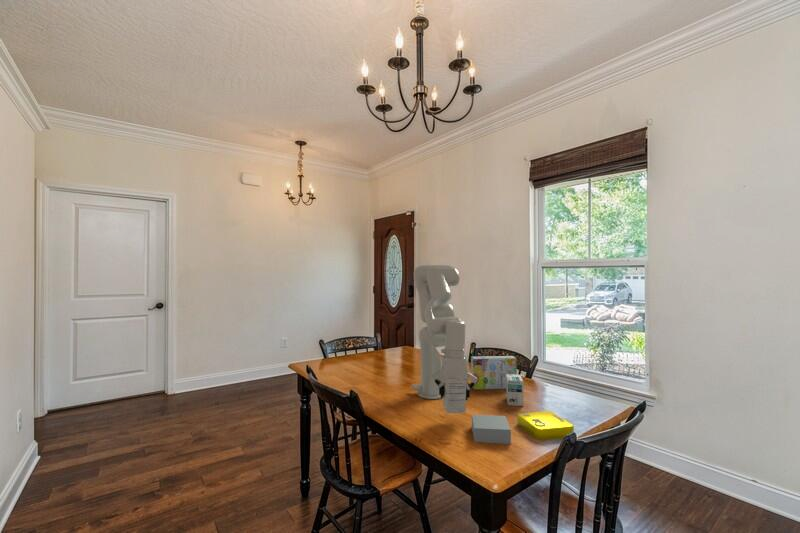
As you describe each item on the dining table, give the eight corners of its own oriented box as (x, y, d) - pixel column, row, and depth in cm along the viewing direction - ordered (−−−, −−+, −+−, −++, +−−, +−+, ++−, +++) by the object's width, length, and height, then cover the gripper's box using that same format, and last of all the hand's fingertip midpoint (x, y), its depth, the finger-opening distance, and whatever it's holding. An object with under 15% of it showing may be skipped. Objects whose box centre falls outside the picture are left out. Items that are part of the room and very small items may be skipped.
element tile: (576, 438, 134) (576, 424, 134) (537, 442, 131) (537, 428, 131) (550, 421, 148) (550, 409, 148) (515, 424, 145) (515, 412, 145)
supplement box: (442, 405, 150) (443, 373, 149) (461, 405, 150) (461, 373, 150) (446, 413, 142) (446, 380, 142) (466, 413, 143) (466, 379, 143)
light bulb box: (524, 406, 163) (524, 381, 163) (507, 405, 164) (507, 380, 164) (521, 398, 173) (521, 374, 173) (505, 397, 175) (505, 373, 175)
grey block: (474, 442, 130) (474, 428, 130) (471, 428, 142) (471, 414, 142) (510, 444, 129) (510, 429, 129) (505, 429, 141) (505, 416, 141)
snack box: (513, 385, 192) (513, 355, 192) (516, 389, 186) (516, 358, 186) (470, 386, 191) (470, 355, 191) (473, 389, 185) (473, 358, 185)
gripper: (430, 354, 144) (430, 399, 145) (477, 357, 140) (477, 404, 140) (433, 349, 151) (433, 392, 152) (478, 352, 147) (478, 396, 148)
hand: (454, 397), depth 146 cm, fingers closed on supplement box, 8 cm apart
